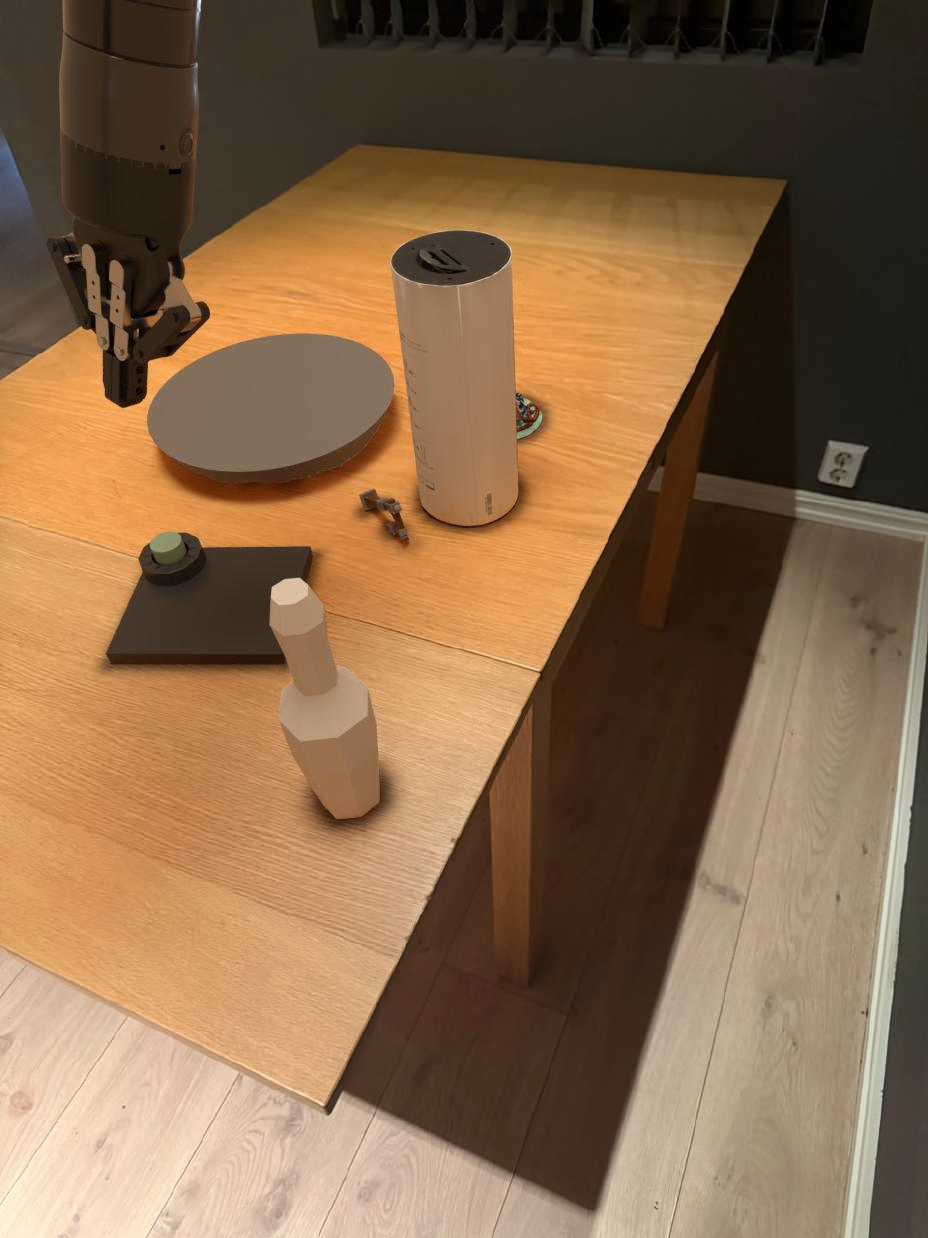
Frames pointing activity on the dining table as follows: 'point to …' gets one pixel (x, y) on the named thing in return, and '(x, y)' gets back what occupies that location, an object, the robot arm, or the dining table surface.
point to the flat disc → (272, 408)
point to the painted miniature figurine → (526, 416)
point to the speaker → (459, 371)
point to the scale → (206, 606)
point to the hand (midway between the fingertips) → (124, 401)
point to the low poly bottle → (324, 707)
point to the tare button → (168, 548)
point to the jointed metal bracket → (373, 500)
